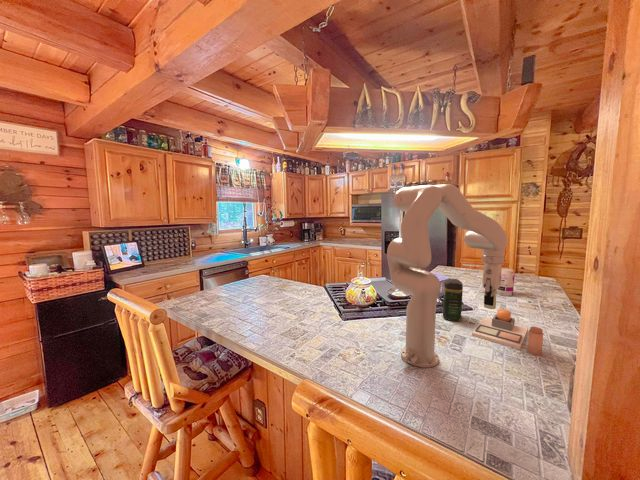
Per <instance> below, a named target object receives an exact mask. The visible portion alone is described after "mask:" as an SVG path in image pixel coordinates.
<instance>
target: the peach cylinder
mask: <svg viewBox="0 0 640 480" xmlns="http://www.w3.org/2000/svg"><path fill="white" fill-rule="evenodd" d="M543 340H544V332H543V329H542V328H540V327H538V326H530V327H529V329H528V339H527V352H528V353H529V354H531V355H534V356H542V353H543V342H544V341H543Z"/></svg>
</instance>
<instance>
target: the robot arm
mask: <svg viewBox="0 0 640 480" xmlns="http://www.w3.org/2000/svg"><path fill="white" fill-rule="evenodd" d="M393 203H394V206H395V207H396V209H398V210H399V211H400V212H405V214H404V215H403V218H402V219H401V222H400V235H401V237H397V238H394V239H393V240H391V241H390V243H389V244H388V246H387V250H386V258H387V264H388V269H389V276H390V280H391V283H392V285H393V287H394V288H396V289H397V290H398V291H401V292H403V293H406V294H407V295H410V296H411V299H410V300H409V301H408V303H407V305H406V311H405V312H406V313H405V314H406V316H405V317H406V318H405V319H406V320H405V321H406V322H405V346H404V347H403V348H402V349H401V351H400V355H401V361H402V362H403V363H408V364H410V365H412V366H414V367H419V368H427V369H428V368H432V367H436V366H437V365H438V364H439V362H440V356H439V355H438V353H437V352H436V351H435V346H436V345H435V343H436V339H435V338H436V321H437V320H436V319H437V318H436V317H437V305H438V304H437V303H438V297H439V294H440V290H441V282H440V279H439V277H438V276H437V275H436V274H434V273H433V272H431V271H427V270H425V268H427V267H429V266H430V264H431V263H432V250H431V241H430V236H429V235H430V234H429V224H430V220H431V218H432V216H433V214H434V213H435V211H436V210H437V209H438V210H440V211H441V212H442V213H443V215H445V217H446V218H447V219H448V220H449V221H450V222H451V224H452V225H454V226H455V227H457V228H460V229H462V230H466V231H467V232H466V233H465V234H464V236H463V242H464V244H465V246H467V247H469V248H471V249H478V250H481V263H482V264H483V272H482V287H483V288H484V295H483V305H484V304H485V305H490V306H493V303H494V296H493V291H494V289H495V290H497V289H498V288H499V287H500V286H501V271H502V269H501V268H502V266H503V265H504V263H505V250H506V249H505V248H506V247H507V245H508V243H509V241H508V240H509V239H508V235H507V234H506V231H505V230H504V228H503V227H502V226H501V224H500V223H499V222H497V221H496V220H495V219H493V218H492V217H490V216H488V215H486V214H484V213H482V212H480V211H478V210H476V209H474V207H473V206H472V205H471V203H470V202H469V201H468V199H467V198H466V197H465V196H464V194H463V193H462V191H461V190H460V189H459V188H458V186H456V185H454V184H452V183H442V184H434V185H433V184H431V185H430V184H424V185H423V184H422V185H415V186H408V187H407V186H405V187H401V188H400V189H398V190H397V191H396V192H395V194H394V196H393ZM490 287H492V288H490ZM490 290H491V291H490Z"/></svg>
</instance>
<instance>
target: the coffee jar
mask: <svg viewBox="0 0 640 480" xmlns="http://www.w3.org/2000/svg"><path fill="white" fill-rule="evenodd" d="M463 285H464V284H463V282H462V281H460V280H459V279H458V278H452V277H451V278H450V277H449V278H447V279H445V280H444V286H443V301H442V317H443V318H444V320H445V319H446V320H449V321H453V322H455V321H456V322H458V321H461V319H462V307H463V306H462V305H463V288H464V287H463Z"/></svg>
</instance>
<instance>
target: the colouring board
mask: <svg viewBox="0 0 640 480" xmlns="http://www.w3.org/2000/svg"><path fill="white" fill-rule="evenodd" d="M515 319H516V318H514V317H511V318H510V322H505V321H501V320H497V313H496V314H494V315H493V316H492V318H489V317H483V318H482V319H481V321H480V322H479V323H478V325H477V326H476V327H475V329H474V330H473V331H472V332H471V336H473V337H477V338H480V339H483V340H486V341H491V342H494V343H497V344H499V345H504V346H508V347H511V348H514V349H517V350H521V348H522V345H523V343H524V340H525V338H526V337H527V333H528V332H529V328H528V327H525V326H521V325H518V324H516V323H515V322H516V320H515Z"/></svg>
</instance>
